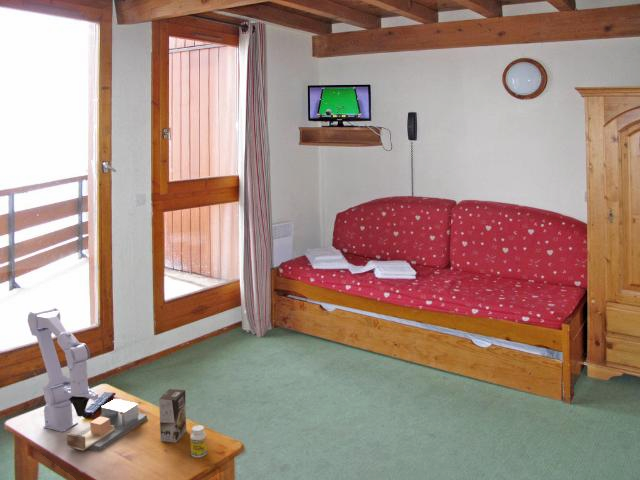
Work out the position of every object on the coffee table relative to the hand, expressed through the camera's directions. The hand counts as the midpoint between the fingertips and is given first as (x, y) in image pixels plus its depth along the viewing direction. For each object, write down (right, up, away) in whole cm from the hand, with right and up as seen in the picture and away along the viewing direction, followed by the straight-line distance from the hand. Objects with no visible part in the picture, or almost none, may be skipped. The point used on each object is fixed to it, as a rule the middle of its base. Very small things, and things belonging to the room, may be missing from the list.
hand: (81, 415), depth 229 cm
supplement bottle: (+43, -12, -7) cm, 45 cm away
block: (+6, -7, +4) cm, 9 cm away
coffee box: (+31, -9, +5) cm, 33 cm away
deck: (+7, -8, +9) cm, 14 cm away
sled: (+4, -8, 0) cm, 9 cm away
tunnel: (+10, -5, +13) cm, 17 cm away
